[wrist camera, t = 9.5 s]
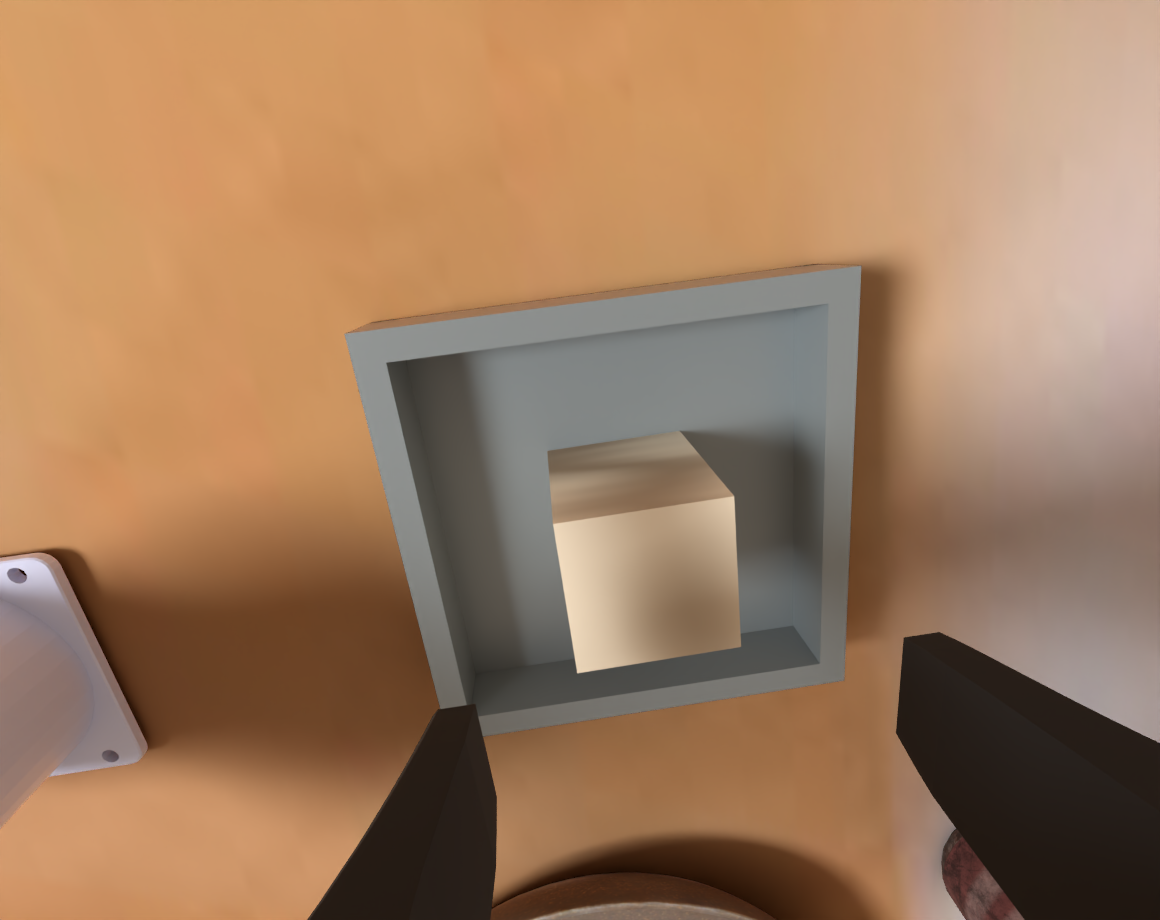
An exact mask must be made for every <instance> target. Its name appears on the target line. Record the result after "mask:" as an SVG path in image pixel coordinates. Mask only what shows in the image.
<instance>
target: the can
mask: <svg viewBox="0 0 1160 920" xmlns="http://www.w3.org/2000/svg"><path fill="white" fill-rule="evenodd" d="M942 875H943V880H944V883H945V886H946V889H947V892H948V893H949V895H950V896H951V898H952V899H953V901H954V902H955V904H956V905H957V907H958V908H959V910H960V911H961V913H962V915H963V916H964V918H965V919H966V920H1024V918H1023V917H1022V916H1021V914H1020V913H1019V912H1018V910H1017V909H1016V908H1015V906H1014V905H1013V904H1012V902H1011V901H1010V900H1009V898H1008V897H1007V896H1006V894H1005V893H1004V892H1003V890H1002V889H1001V888H1000V886H999V885H998V884H997V882H996V881H995V880H994V878H993V877H992V876H991V874H990V873H989V871H988V870H987V869H986V867H985V866H984V865H983V863H982V862H981V861H980V859H979V858H978V857H977V855H976V854H975V853H974V851H973V850H972V849H971V847H970V846H969V845H968V843H967V842H966V841H965V839H964V838H963V837H962V835H961V834H960V832H959V831H958V830H957V829H956V830H955V831H954V832H953V833H952V834H951V836H950V838H949V839H948V841H947V843H946V845H945V847H944V849H943V856H942Z"/></svg>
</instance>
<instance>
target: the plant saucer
mask: <svg viewBox="0 0 1160 920" xmlns="http://www.w3.org/2000/svg"><path fill="white" fill-rule="evenodd" d="M490 920H776V919H775V918H773V917H772V916H770V915H769V914H767V913H766V912H764V911H763V910H761V909H759V908H757V907H755V906H753V905H752V904H750V903H748V902H746V901H744V900H742V899H740V898H738V897H736V896H733V895H731V894H729V893H727V892H725V891H722V890H719V889H717V888H714V887H711V886H708V885H706V884H703V883H699V882H696V881H693V880H688V879H684V878H679V877H674V876H669V875H662V874H651V873H640V872H620V873H606V874H595V875H587V876H582V877H576V878H571V879H567V880H563V881H559V882H554V883H551V884H548V885H545V886H542V887H539V888H536V889H534V890H531V891H528V892H526V893H523V894H520V895H518V896H516V897H514V898H512V899H510V900H508V901H506V902H504V903H502V904H500V905H498V906H496V907H494V908H493V909H491V918H490Z"/></svg>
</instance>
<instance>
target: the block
mask: <svg viewBox="0 0 1160 920" xmlns="http://www.w3.org/2000/svg"><path fill="white" fill-rule="evenodd" d="M547 454H548V467H549V480H550V492H551V505H552V518H553V527H554V533H555V540H556V546H557V552H558V558H559V564H560V570H561V576H562V582H563V589H564V595H565V601H566V607H567V613H568V619H569V625H570V631H571V637H572V644H573V650H574V656H575V662H576V668H577V673H583V672H589V671H595V670H601V669H607V668H614V667H620V666H626V665H632V664H638V663H645V662H651V661H657V660H663V659H669V658H676V657H682V656H688V655H694V654H700V653H707V652H713V651H719V650H725V649H731V648H738V647H741V635H740V613H739V591H738V568H737V546H736V524H735V501H734V495H733V494H732V493H731V492H730V491H729V489H728V488H727V487H726V486H725V485H724V483H723V482H722V481H721V480H720V479H719V477H718V476H717V475H716V474H715V473H714V471H713V470H712V469H711V468H710V467H709V465H708V464H707V463H706V462H705V461H704V459H703V458H702V457H701V456H700V455H699V453H698V452H697V451H696V450H695V449H694V447H693V446H692V445H691V444H690V443H689V441H688V440H687V439H686V438H685V437H684V435H683V434H682V433H681V432H680V431H676V432H670V433H663V434H656V435H650V436H643V437H636V438H630V439H623V440H616V441H610V442H603V443H596V444H590V445H583V446H576V447H570V448H563V449H556V450H550V451H547Z"/></svg>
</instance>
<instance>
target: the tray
mask: <svg viewBox="0 0 1160 920" xmlns="http://www.w3.org/2000/svg"><path fill="white" fill-rule="evenodd" d="M860 286H861V266H855V265H827V264H812V265H804V266H796V267H789V268H781V269H773V270H766V271H758V272H751V273H743V274H735V275H728V276H720V277H713V278H705V279H697V280H690V281H682V282H675V283H667V284H659V285H652V286H644V287H637V288H629V289H621V290H614V291H606V292H599V293H591V294H583V295H576V296H568V297H561V298H553V299H545V300H538V301H530V302H523V303H515V304H507V305H500V306H492V307H485V308H477V309H469V310H462V311H454V312H447V313H439V314H431V315H424V316H416V317H409V318H401V319H393V320H386V321H378V322H371V323H369V324H367V325H364V326H362V327H360V328H357V329H355V330H353V331H350V332H348V333H346V334H345V338H346V342H347V345H348V349H349V353H350V357H351V361H352V365H353V369H354V373H355V377H356V381H357V385H358V389H359V392H360V396H361V400H362V404H363V408H364V412H365V416H366V420H367V424H368V428H369V432H370V436H371V439H372V443H373V447H374V451H375V455H376V459H377V463H378V467H379V471H380V475H381V479H382V483H383V486H384V490H385V494H386V498H387V502H388V506H389V510H390V514H391V518H392V522H393V526H394V530H395V533H396V537H397V541H398V545H399V549H400V553H401V557H402V561H403V565H404V569H405V573H406V577H407V580H408V584H409V588H410V592H411V596H412V600H413V604H414V608H415V612H416V616H417V620H418V624H419V627H420V631H421V635H422V639H423V643H424V647H425V651H426V655H427V659H428V663H429V667H430V670H431V674H432V678H433V682H434V686H435V690H436V694H437V698H438V702H439V706H440V709H444V708H451V707H457V706H464V705H470V704H476V709H477V713H478V717H479V722H480V726H481V731H482V735H483V737H484V736H491V735H497V734H504V733H510V732H517V731H523V730H530V729H536V728H542V727H549V726H555V725H562V724H568V723H575V722H581V721H587V720H594V719H600V718H607V717H613V716H620V715H626V714H632V713H639V712H645V711H652V710H658V709H665V708H671V707H677V706H684V705H690V704H697V703H703V702H710V701H716V700H723V699H729V698H735V697H742V696H748V695H755V694H761V693H768V692H774V691H780V690H787V689H793V688H800V687H806V686H813V685H819V684H825V683H832V682H838V681H844V674H845V650H846V626H847V602H848V577H849V553H850V529H851V505H852V480H853V456H854V432H855V408H856V383H857V359H858V335H859V310H860ZM676 431H680V432H681V433H682V434H683V435H684V437H685V438H686V439H687V440H688V441H689V443H690V444H691V445H692V446H693V447H694V449H695V450H696V451H697V452H698V453H699V455H700V456H701V457H702V458H703V459H704V461H705V462H706V463H707V464H708V465H709V467H710V468H711V469H712V470H713V471H714V473H715V474H716V475H717V476H718V477H719V479H720V480H721V481H722V482H723V483H724V485H725V486H726V487H727V488H728V489H729V491H730V492H731V493H732V494H733V495H734V501H735V524H736V546H737V568H738V591H739V613H740V635H741V647H738V648H731V649H725V650H719V651H713V652H707V653H700V654H694V655H688V656H682V657H676V658H669V659H663V660H657V661H651V662H645V663H638V664H632V665H626V666H620V667H614V668H607V669H601V670H595V671H589V672H583V673H577V668H576V662H575V656H574V650H573V644H572V637H571V631H570V625H569V619H568V613H567V607H566V601H565V595H564V589H563V582H562V576H561V570H560V564H559V558H558V552H557V546H556V540H555V533H554V527H553V518H552V505H551V492H550V480H549V467H548V454H547V451H550V450H556V449H563V448H570V447H576V446H583V445H590V444H596V443H603V442H610V441H616V440H623V439H630V438H636V437H643V436H650V435H656V434H663V433H670V432H676Z"/></svg>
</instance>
